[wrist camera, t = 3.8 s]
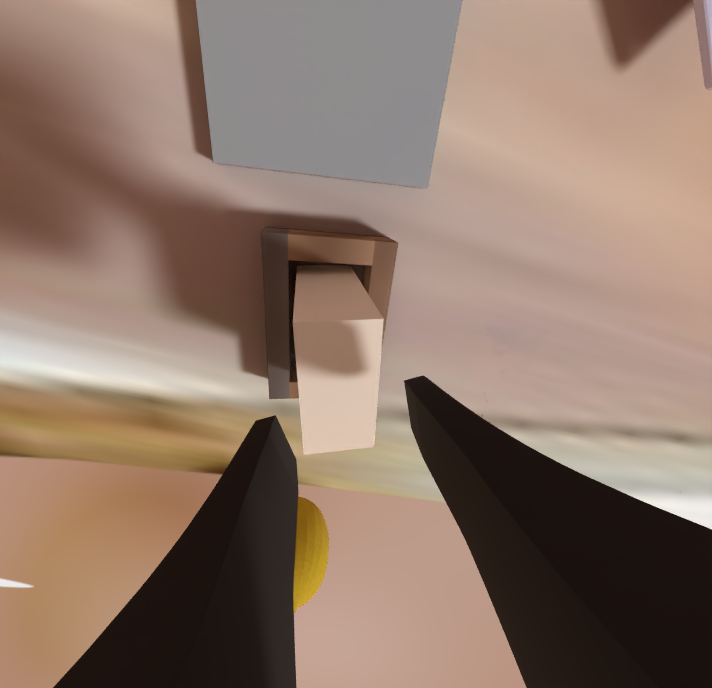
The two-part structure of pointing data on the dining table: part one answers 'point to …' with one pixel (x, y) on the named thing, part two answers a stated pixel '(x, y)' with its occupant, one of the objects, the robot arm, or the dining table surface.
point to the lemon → (309, 552)
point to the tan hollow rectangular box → (314, 248)
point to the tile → (328, 85)
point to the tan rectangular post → (336, 358)
